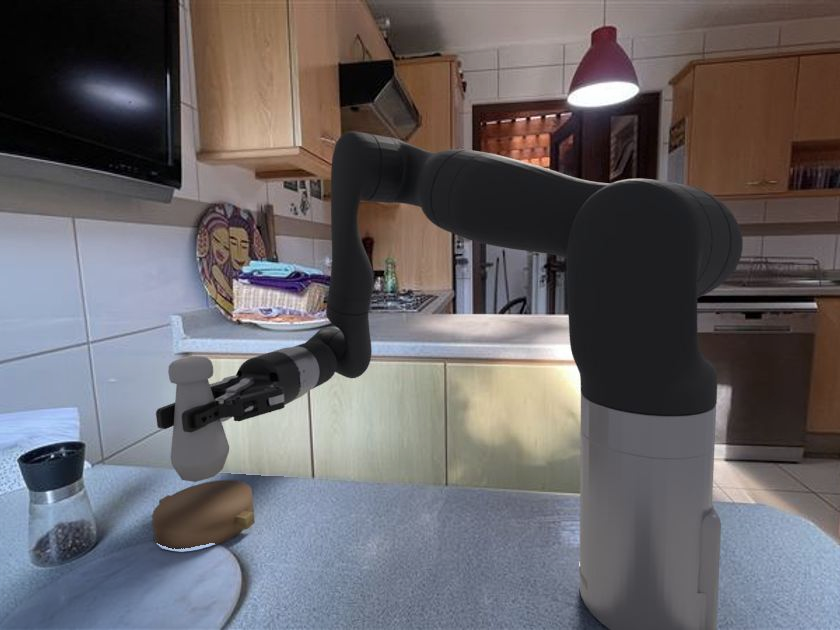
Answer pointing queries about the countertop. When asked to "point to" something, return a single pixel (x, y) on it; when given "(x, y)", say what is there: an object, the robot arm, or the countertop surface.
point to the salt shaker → (205, 446)
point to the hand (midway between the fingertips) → (172, 421)
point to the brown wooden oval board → (203, 514)
